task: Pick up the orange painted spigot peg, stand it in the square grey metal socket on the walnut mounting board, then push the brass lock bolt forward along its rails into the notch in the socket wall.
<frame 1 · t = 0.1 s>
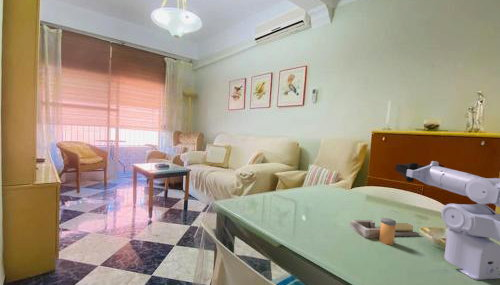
hand: (406, 167, 76), 21 cm above the table, tool horizontal, fingers open, 7 cm apart
mount: (386, 234, 75), on the table
lock bolt: (399, 228, 76), point 2 cm above the table, slide at 0.0 cm
spigot: (386, 244, 68), on the table
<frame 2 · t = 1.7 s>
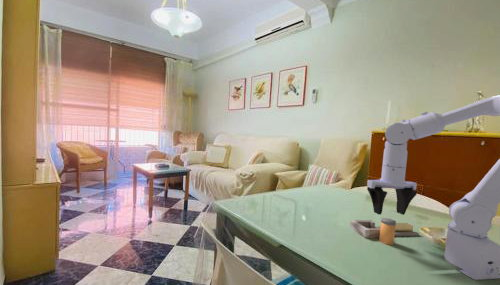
hand: (389, 213, 67), 9 cm above the table, tool pointing down, fingers open, 7 cm apart
nothing on the table moved.
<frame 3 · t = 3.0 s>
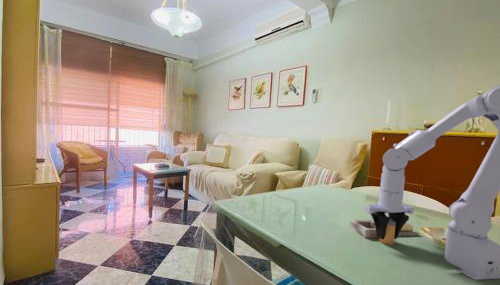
hand: (386, 237, 68), 2 cm above the table, tool pointing down, fingers closed on spigot, 4 cm apart
spigot: (386, 244, 68), on the table, touching gripper
everything else where it was.
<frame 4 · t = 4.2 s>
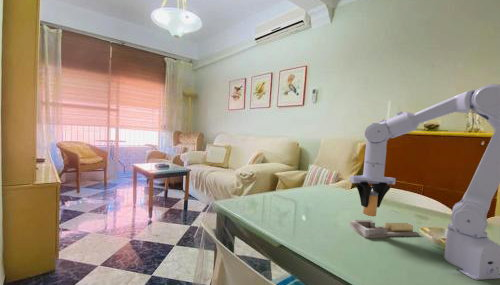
hand: (370, 206, 73), 9 cm above the table, tool pointing down, fingers closed on spigot, 4 cm apart
spigot: (369, 214, 73), point 6 cm above the table, touching gripper
everything else where it was.
when the fingers open (4 cm above the table, at t = 5.5 s): spigot stays where it is, resting on mount.
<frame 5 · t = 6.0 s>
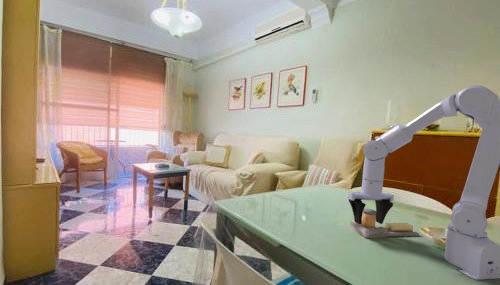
hand: (368, 222, 73), 4 cm above the table, tool pointing down, fingers open, 7 cm apart
spigot: (367, 232, 74), point 1 cm above the table, touching mount
everything else where it was.
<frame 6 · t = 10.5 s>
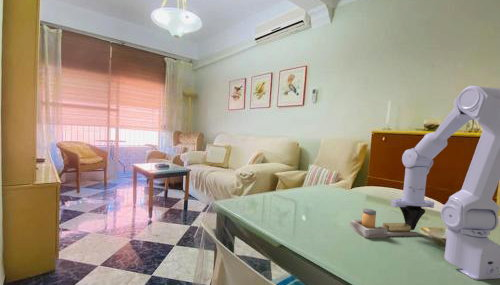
hand: (409, 228, 77), 2 cm above the table, tool pointing down, fingers closed
lock bolt: (396, 228, 76), point 2 cm above the table, slide at 0.9 cm, touching gripper
everything else where it was.
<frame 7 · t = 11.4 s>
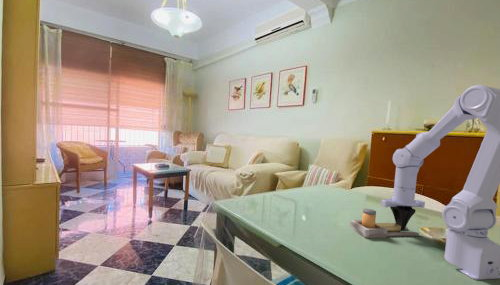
hand: (400, 228, 76), 2 cm above the table, tool pointing down, fingers closed
lock bolt: (386, 228, 75), point 2 cm above the table, slide at 4.5 cm, touching gripper
everything else where it was.
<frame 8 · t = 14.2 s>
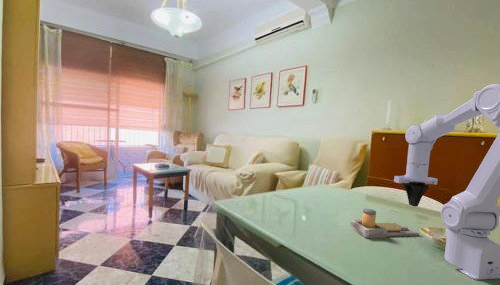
hand: (413, 205, 76), 9 cm above the table, tool pointing down, fingers closed
lock bolt: (386, 228, 75), point 2 cm above the table, slide at 4.6 cm
everything else where it was.
at the end: spigot 0.0 cm from the target spot on the mount, point 0.6 cm above the mount's base; spigot tilted 1°; lock bolt slide at 4.6 cm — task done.
